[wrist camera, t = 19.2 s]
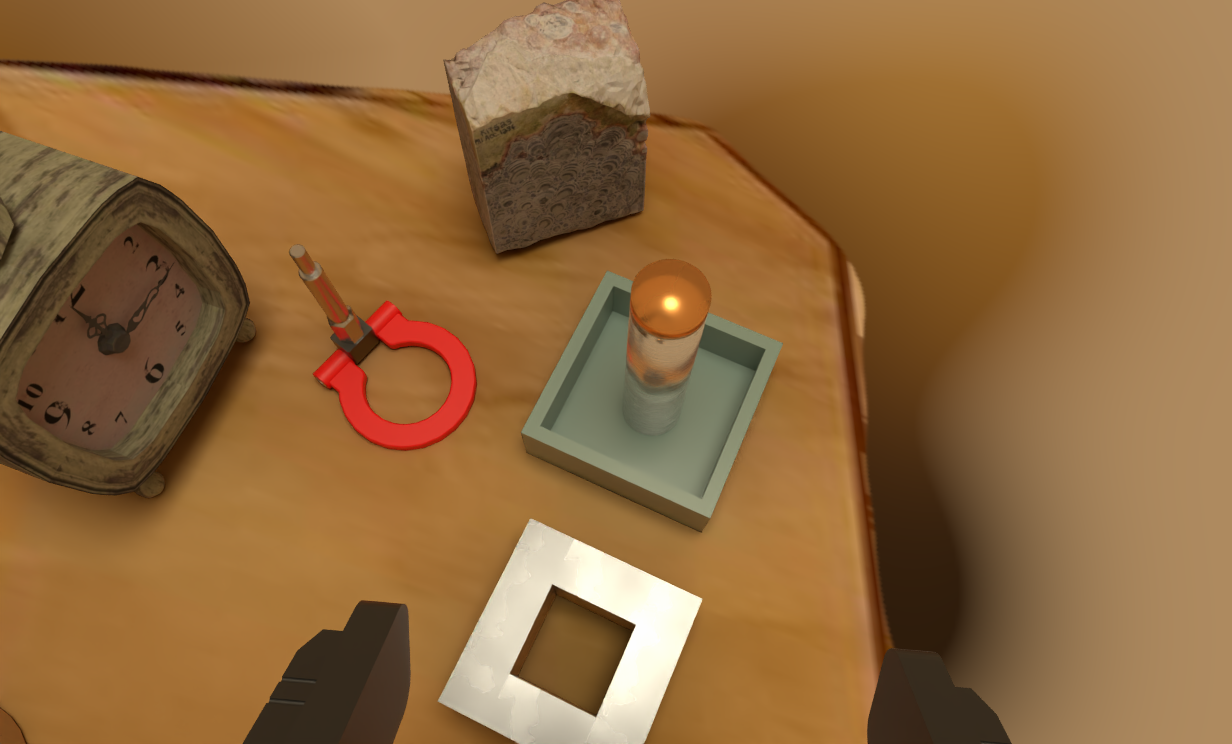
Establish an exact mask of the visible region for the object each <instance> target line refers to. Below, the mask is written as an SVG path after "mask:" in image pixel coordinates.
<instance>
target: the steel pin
mask: <svg viewBox="0 0 1232 744" xmlns="http://www.w3.org/2000/svg"><path fill="white" fill-rule="evenodd" d="M710 303H711V289H710V285H709V283H708V281H707V279H706V277H705V276H704V275H703V273H702V272H701V271H700V270H698V269H697V268H696V267H694V266H693V265H691V264H689V263H687V262H684V261H681V260H676V259H664V260H659V261H655V262H653V263H651V264H649V265H647V266H646V267H644V268H643V269H642V270H641V271H640V272H639V273H638V274H637V275H636V277H635V279H634V281H633V283H632V287H631V297H630V311H629V325H628V339H627V353H626V367H625V381H624V395H623V414H624V417H625V420H626V421H627V423H628V424H629V425H630V427H631V428H633V429H634V430H635V431H637V432H639V433H641V434H644V435H650V436H655V435H660V434H663V433H666V432H667V431H669V430H670V429H671V428H673V426H674V425H675V424H676V423H677V421H678V419H679V416H680V412H681V409H682V405H683V401H684V398H685V394H686V391H687V387H688V383H689V380H690V376H691V372H692V369H693V365H694V362H695V358H696V354H697V351H698V347H699V344H700V340H701V336H702V333H703V329H704V325H705V322H706V318H707V315H708V311H709V307H710Z"/></svg>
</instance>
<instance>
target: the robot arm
mask: <svg viewBox="0 0 1232 744" xmlns="http://www.w3.org/2000/svg"><path fill="white" fill-rule="evenodd" d="M409 687H410V647H409V620H408V609H407V606H406V605H405V604H398V603H387V602H376V601H364V600H362V601H360V602H359V603H358V604H357V606H356V607H355V609H354V611H353V613H352V615H351V617H350V619H349V621H348V622H347V624H346V626H345V628H344V630H343V631H336V630H324V629H323V630H322V631H321V632H319V633H318V634H317V635H316V636H315V637H313V638H312V639H311V640H310V641H309V642H307V643H306V644H305V645H304V646H302V647H301V648H300V649H299V650H298V651H297V652H296V654H295V656H294V657H293V659H292V661H291V662H290V664H289V666H288V668H287V669H286V671H285V673H284V674H283V676H282V681H281V682H279V683H278V685H277V686H276V688H275V690H274V691H273V693H272V695H271V696H270V700H269V703H266V705H265V707H264V708H263V710H262V712H261V713H260V715H259V717H258V718H257V720H256V722H255V724H254V725H253V727H252V729H251V730H250V732H249V734H248V735H247V737H246V739H245V741H244V742H243V744H393V741H394V739H395V736H396V733H397V731H398V728H399V725H400V723H401V720H402V717H403V715H404V711H405V708H406V704H407V700H408V694H409ZM867 738H868V744H1012V743H1011V742H1010V739H1009V738H1008V736H1007V734H1006V732H1005V730H1004V728H1003V726H1002V724H1001V722H1000V720H999V718H998V716H997V714H996V713H994V711H993V710H992V709H991V708H990V707H989V706H988V705H987V704H986V703H985V702H984V701H983V700H982V699H981V698H980V697H979V696H978V695H977V694H976V693H975V692H974V691H973V690H972V689H971V688H961V687H955V686H954V684H953V682H952V680H951V678H950V675H949V673H948V671H947V669H946V667H945V665H944V663H943V661H942V659H941V657H940V656H939V655H938V654H937V653H935V652H926V651H915V650H904V649H892V648H891V649H889V650H888V651H887V652H886V654H885V656H884V660H883V664H882V667H881V671H880V675H879V679H878V683H877V687H876V691H875V694H874V698H873V702H872V706H871V710H870V714H869V718H868V728H867ZM0 744H26V743H25V741H24V738H23V736H22V733H21V731H20V729H19V727H18V726H17V725H16V723H15V722H14V721H13V719H12V718H11V716H9V715H8V714H7V713H6V712H4V711H3V710H2V709H0Z"/></svg>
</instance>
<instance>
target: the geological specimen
mask: <svg viewBox="0 0 1232 744" xmlns="http://www.w3.org/2000/svg"><path fill="white" fill-rule="evenodd" d="M444 65H445V70H446V74H447V79H448V83H449V89H450V93H451V97H452V102H453V107H454V112H455V117H456V122H457V126H458V131H459V135H460V140H461V144H462V149H463V153H464V157H465V162H466V167H467V171H468V176H469V181H470V184H471V188H472V192H473V196H474V200H475V203H476V205H477V207H478V211H479V214H480V217H481V219H482V222H483V225H484V227H485V229H486V231H487V234H488V237H489V240H490V242H491V244H492V246H493V248H494V250H495V252H496V254H497V253H500V252H503V251H505V250H512V249H516V248H524V247H527V246H529V245H531V244H533V243H535V242H537V241H539V240H542V239H546V238H550V237H552V236H555V235H559V234H563V233H570V232H572V231H573V232H574V231H576V230H577V229H579V230H581V229H586V228H590V227H593V226H595V225H597V224H599V223H602V222H604V221H606V220H614V219H618V218H621V217H624V216H627V215H629V214H632V213H637V212H640V211H643V209H644V193H645V171H646V155H647V147H646V144H645V141H646V140H647V136H648V129H647V126H646V120H647V118H649V117H650V109H649V103H648V97H647V87H646V82H645V78H644V71H643V68H642V66H641V64H640V53H639V48H638V46H637V43H636V42H635V41H634V39H633V36H632V34H631V31H630V28H629V26H628V21H627V18H626V16H625V14H624V13H623V10H622V7H621V3H620V0H566V1H563V2H561V3H558V4H555V5H550V4H547V3H542V4H540V5H538V6H536V8H535V9H534V11H533V12H532V13H530V14H528V15H522V16H516V17H512V18H509V19H507V20H504V21H503V22H502V23H501V24H500V25H499V26H498V27H497V28H496V29H495V30H494V31H492V32H490V33H489V34H487V35H486V36H484V37H483V38H481V39H480V40H479V41H477V42H476V43H475V44H473V45H472V46H470V47H469V48H467V49H462V50H460V51H459V52H457V53H456V56H455V58H453V59H451V60H444Z"/></svg>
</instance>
